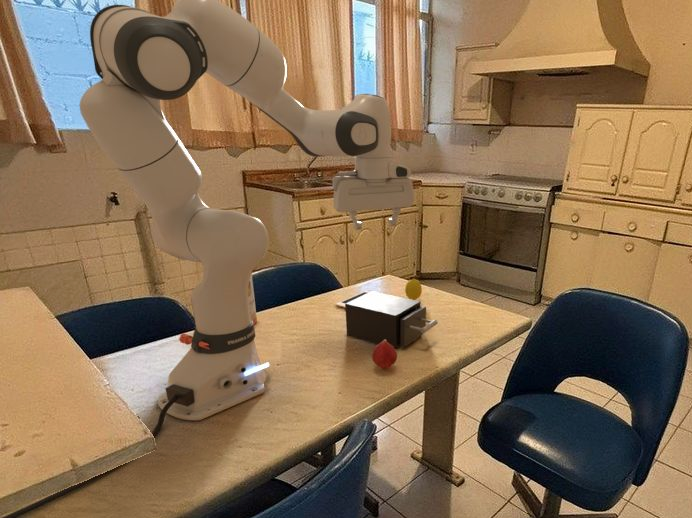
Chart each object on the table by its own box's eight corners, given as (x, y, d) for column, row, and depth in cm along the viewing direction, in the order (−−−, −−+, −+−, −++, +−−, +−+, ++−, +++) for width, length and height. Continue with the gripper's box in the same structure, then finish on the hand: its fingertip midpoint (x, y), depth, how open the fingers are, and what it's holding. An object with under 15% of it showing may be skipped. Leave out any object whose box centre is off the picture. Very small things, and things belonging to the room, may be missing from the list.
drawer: (441, 336, 126) (441, 310, 124) (420, 351, 117) (420, 323, 114) (380, 321, 136) (380, 296, 133) (357, 334, 127) (356, 308, 124)
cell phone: (335, 305, 150) (335, 303, 149) (366, 292, 162) (366, 290, 162) (353, 310, 146) (353, 308, 145) (383, 296, 158) (383, 294, 158)
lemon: (424, 301, 155) (425, 278, 152) (413, 305, 151) (413, 282, 148) (413, 297, 159) (413, 275, 156) (401, 300, 155) (401, 278, 152)
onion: (368, 372, 109) (367, 341, 106) (380, 361, 114) (379, 332, 111) (389, 377, 107) (389, 346, 104) (401, 366, 111) (400, 337, 108)
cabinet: (420, 332, 131) (420, 301, 127) (396, 349, 120) (395, 315, 117) (372, 320, 138) (372, 291, 135) (346, 335, 128) (345, 303, 125)
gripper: (336, 172, 101) (340, 234, 107) (416, 169, 110) (416, 226, 116) (327, 170, 107) (331, 229, 112) (405, 167, 116) (405, 221, 121)
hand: (375, 227), depth 114 cm, fingers open, 8 cm apart
